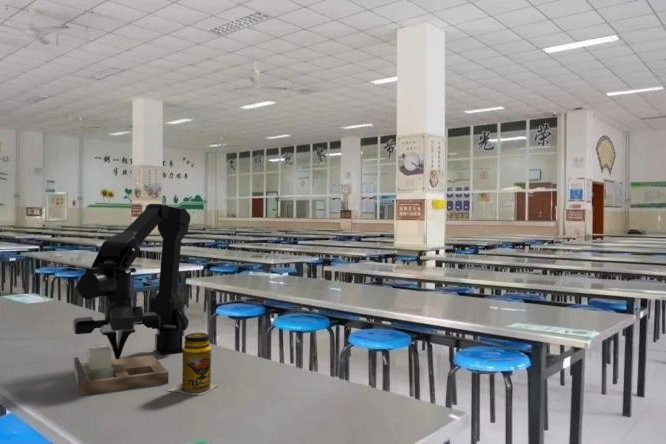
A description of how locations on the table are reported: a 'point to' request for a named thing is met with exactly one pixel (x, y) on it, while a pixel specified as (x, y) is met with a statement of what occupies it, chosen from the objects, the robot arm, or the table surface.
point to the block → (99, 357)
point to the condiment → (196, 365)
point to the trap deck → (120, 375)
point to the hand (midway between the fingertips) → (117, 358)
